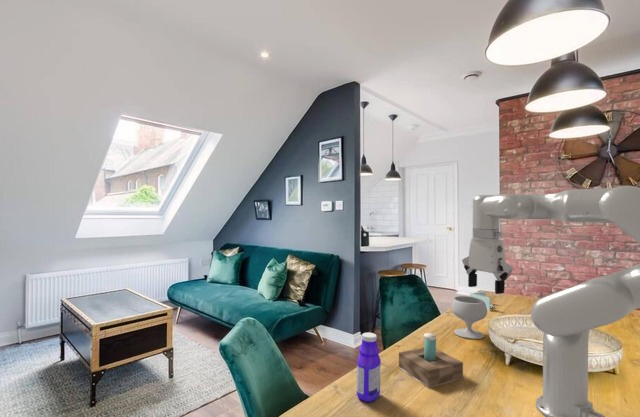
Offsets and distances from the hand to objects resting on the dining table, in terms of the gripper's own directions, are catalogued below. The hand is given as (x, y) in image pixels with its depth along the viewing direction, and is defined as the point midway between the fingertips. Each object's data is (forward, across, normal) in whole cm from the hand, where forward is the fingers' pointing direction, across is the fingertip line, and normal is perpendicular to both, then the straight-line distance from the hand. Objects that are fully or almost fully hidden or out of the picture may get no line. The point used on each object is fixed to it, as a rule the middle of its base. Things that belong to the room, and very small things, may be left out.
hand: (485, 289), depth 104 cm
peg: (+28, +11, +12) cm, 32 cm away
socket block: (+28, +11, +12) cm, 33 cm away
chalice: (+28, +31, -28) cm, 51 cm away
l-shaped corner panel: (+29, +58, -72) cm, 97 cm away
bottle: (+28, +7, +38) cm, 48 cm away
